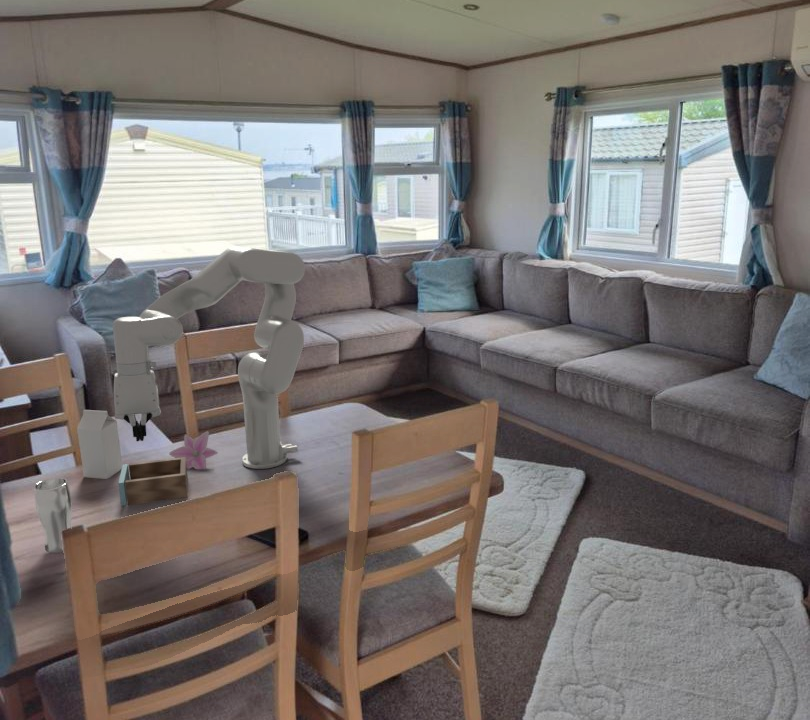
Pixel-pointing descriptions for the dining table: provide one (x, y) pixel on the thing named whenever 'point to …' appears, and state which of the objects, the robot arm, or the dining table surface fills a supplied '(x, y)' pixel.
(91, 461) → the milk carton
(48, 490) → the beer glass
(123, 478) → the tailgate
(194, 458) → the lily
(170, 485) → the box
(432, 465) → the dining table surface
